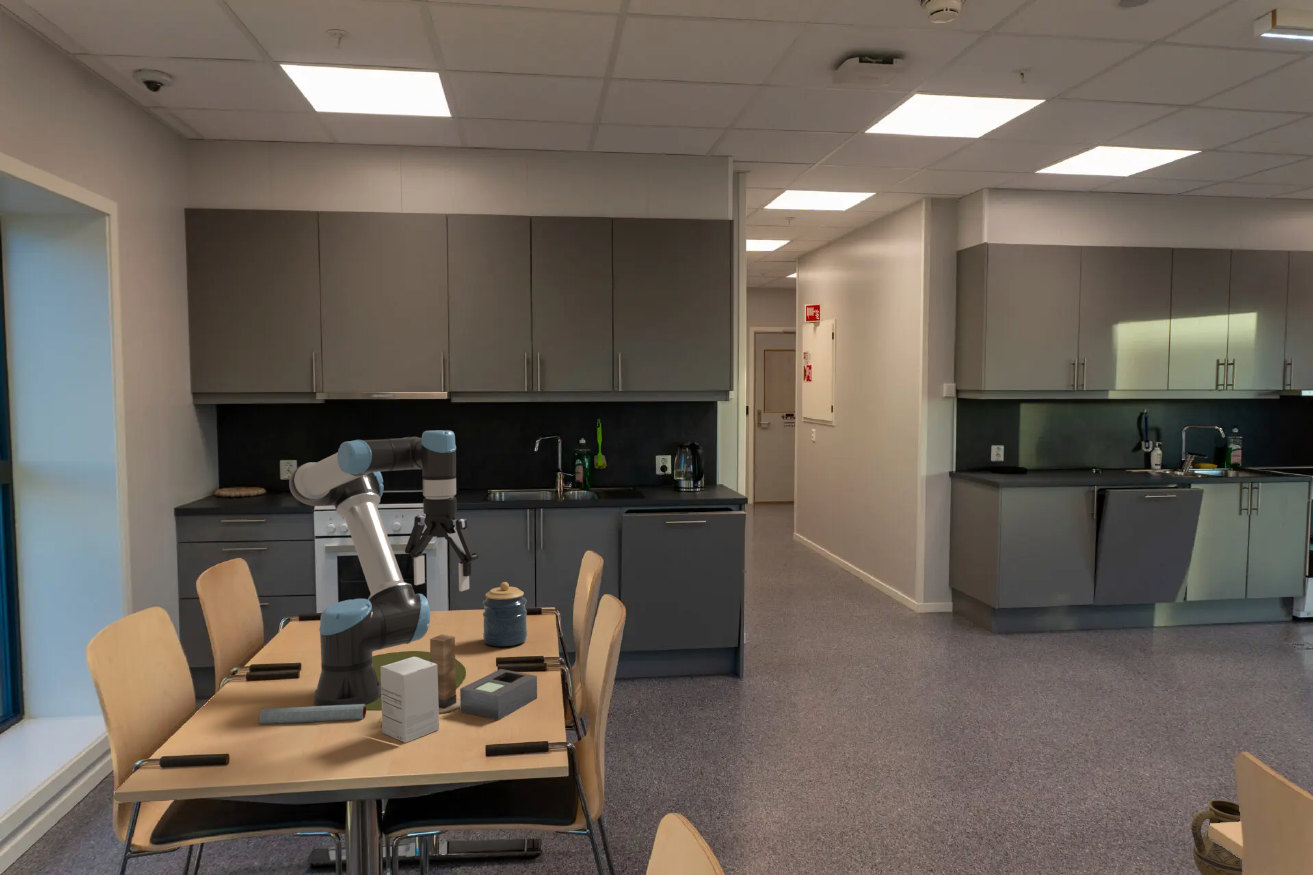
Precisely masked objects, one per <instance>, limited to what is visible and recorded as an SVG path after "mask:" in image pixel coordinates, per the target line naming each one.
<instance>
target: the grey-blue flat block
mask: <svg viewBox="0 0 1313 875" xmlns="http://www.w3.org/2000/svg"><path fill="white" fill-rule="evenodd" d="M366 706H367V705H365V704H355V705H333V706H316V705H314V706H313V705H312V706H295V707H274V708H272V707H271V708H270V707H269V708H268V707H267V708H262V709H261V710H260V712H259V714H258V721H259V724H260V725H267V724H268V725H271V724H293V723H294V724H295V723H297V724H298V723H299V724H300V723H315V722H316V723H317V722H330V721H331V722H332V721H336V722H337V721H356V720H357V721H358V720H364V719H365V718H366V715H367V707H366Z"/></svg>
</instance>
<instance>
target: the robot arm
mask: <svg viewBox="0 0 1313 875" xmlns="http://www.w3.org/2000/svg"><path fill="white" fill-rule="evenodd" d="M337 450H338V451H337V452H336V453H334V454H332V455H330V456H327V457H326V458H323V459H321V460H320V461H317V462H307V463H304V464H302V465H300V466H298V467H297V468H296V469H294V470H293V471H292V473H291V475H290V477H289V480H288V481H289V482H288V484H289V490H290V493H291V494H292V496H293V497H294V498H295V499H296V500H297V501H298V502H301V503H302V504H305V505H307V506H312V507H327V506H334V508H335V510H336V511H335V512H336V514H338V516H340V517H343V518H345V521H346V524H347V528H348V531H349V533H350V537H351V539H352V542H353V545H354V548H355V551H356V554H357V557H358V560H359V562H360V566H361V568H362V573H363V575H364V577H365V581H366V583H367V587H368V590H369V592H370V595H369V596H368V599H367V598H354V599H346V600H342V601H338V602H336V603H333V604H331V605H330V606H328V607H326V608H325V609H324V610H323V611H322V612H321V614H320V621H319V622H320V623H319V630H318V631H319V638H320V639H319V640H320V661H321V663H320V666H321V671H320V674H319V678H318V679H319V680H318V683H317V687H316V689H315V691H314V693H313V694H314V698H313V699H314V706H333V705H355V704H365V706H367V705H369V704H372V703H374V702H375V701H377V700H378V699H380V698H381V682H380V681H379V679H378V676H377V673H376V670H375V668H374V665H373V653H374V652H376V651H380V650H383V649H389V648H392V647H398V646H402V645H405V644H406V645H409V644H411V643H412V642H416V641H420V640H421V639H423V638H424V637H425V636H426V634H427V632H428V631H429V628H430V621H431V610H430V603H429V601H428V599H427V597H426V596H425V595H424V594H423V593H415V590H414V588H413V586H412V584H411V583H407V582H405V581H404V578H403V575H402V572H401V570H400V567H399V564H398V562H397V559H396V556H395V552H394V550H393V547H392V544H391V542H390V539H389V536H388V534H387V531H386V527H385V525H384V523H383V519H382V517H381V513H380V510H379V509H378V505H379V504H380V503H381V498H382V496H383V493H384V479H383V475H382V473H381V472H391V471H394V472H395V471H404V470H405V471H406V470H407V471H408V470H422V495H423V497H424V498H423V500H422V505H423V506H422V507H423V510H422V511H423V514H421V515H416V516H414V521H413V528H412V530H411V532H410V535H409V538H408V540H407V543H406V546H405V549H404V553H405V554H408V555H410V557H411V567H412V571H413V581H414V583H413V584H414V585H415V586H418V585H423V584H426V581H425V580H426V577H425V574H426V573H425V570H426V569H425V568H426V567H425V555H424V553H423V552H424V551H425V550H426V548H427V546H428V545H429V544H430V542H431V541H432V539H433V538H434V537H435V538H436V537H439V538H444V539H445V540H446V541H448V543H449V544H450V546H451V547H452V549H453V550H454V552H455V554H456V555H457V557H458V558H459V560H460V562H458V591H459V592H464V591H467V590H470V576H472V562H473V561H475V560H479V557H480V556H479V554H478V551H477V548H476V546H475V543H474V541H473V539H472V536H471V533H470V531H469V529H468V528H469V527H468V521H467V518H465V517H464V518H461V519H460V518H459V519H456V513H457V512H458V511H457V510H458V509H457V506H458V505H457V504H458V503H457V498H456V495H457V446H456V436H455V433H454V431H452V430H438V429H437V430H425V431H423V433H422V435H421V437H418V436H407V437H402V438H384V439H364V440H363V439H355V440H351V441H344V442H342V443H341V444H340V445H339V448H338V449H337ZM425 526H426V528H425Z"/></svg>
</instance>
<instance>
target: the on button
mask: <svg viewBox="0 0 1313 875" xmlns="http://www.w3.org/2000/svg"><path fill="white" fill-rule="evenodd" d="M504 686H505V685H500V684H495V683H490V682H488V683H486V684H484V685H482V686H480V687H478V688H476V689H477V690H482V691H487V692H491V693H492V692H494V691H496V690H498V689H500V688H502V687H504Z"/></svg>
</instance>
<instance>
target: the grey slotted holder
mask: <svg viewBox="0 0 1313 875" xmlns="http://www.w3.org/2000/svg"><path fill="white" fill-rule="evenodd" d="M488 682H490V683H495V684H500V685H505V686H504V687H502V688H500V689H498V690H496V691H494V692H492V693H491V692H487V691H482V690H477V689H476V688H478V687H480V686H482V685H484V684H486V683H488ZM459 693H460V694H459V697H460V698H459V700H460V713H464V714H469V715H474V716H477V717H482V718H487V719H491V720H494V721H495V720H496V721H500V720H502V719H503V718H505V717H507V716H508V715H510V714H512V713H514V712H516V711H517V710H519V709H521V708H522V707H524V706H526V705H528V704H530V703H532V702H533V701H535V700H537V699H538V675H534V674H529V673H523V672H519V671H514V670H507V669H504V668H503V669H502V668H500V669H498V670H495V671H494V672H492V673H489V674H488V675H485V676H483V677H481V678H478V679H476V680H475V681H473V682H471V683H469V684H467V685H465V686H462V687H460V689H459Z"/></svg>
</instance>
